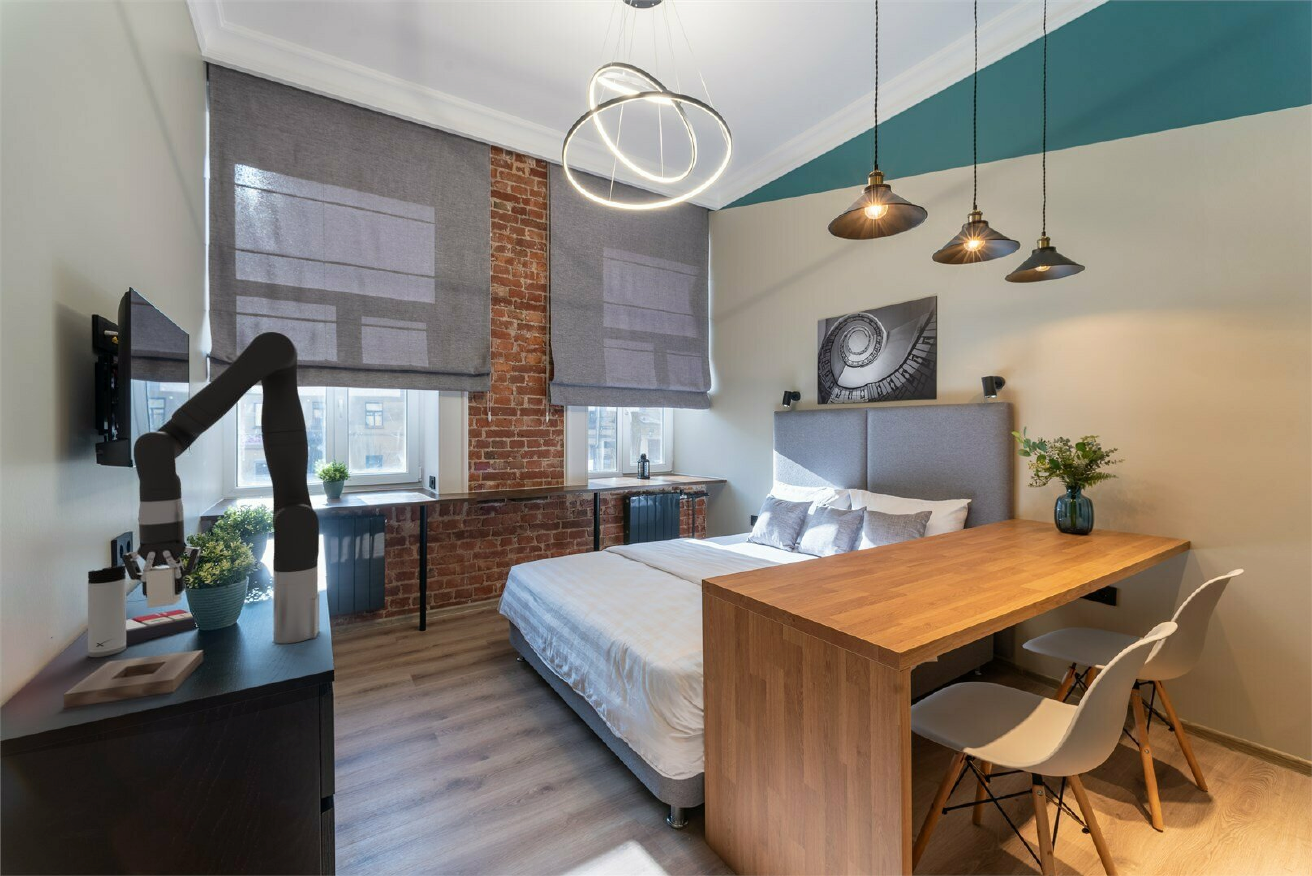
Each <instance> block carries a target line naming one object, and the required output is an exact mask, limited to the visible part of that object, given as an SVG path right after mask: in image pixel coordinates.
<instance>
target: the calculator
mask: <svg viewBox="0 0 1312 876" xmlns="http://www.w3.org/2000/svg"><path fill="white" fill-rule="evenodd" d="M191 613H192V612H188V611H186V610H184V609H183V610H182V609H176V610H175V609H174V610H170V611H164V612H163V611H162V612H158V613H154V614H148V615H147V614H146V615H143V616H141V615H140V616H137V617H132V619H130V618H129V619H126V647H127V646H131V645H134V644H138V643H143V642H147V641H149V640H151V639H154V638H160V637H161V638H162V637H165V636H169V635H175V634H177V633H182V632H185V631H190V630H194V629H197V628H196V624H195V621H194V618H193V616H192V614H191Z"/></svg>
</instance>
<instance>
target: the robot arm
mask: <svg viewBox="0 0 1312 876" xmlns="http://www.w3.org/2000/svg"><path fill="white" fill-rule="evenodd" d="M298 354H299V353H298V350H297V347H296V345H295V344H294V342H293V341H292V339H290V337H288V336H287V335H285V334H283V333H281V332H278V331H265V332H261V333H258V334H257V335H256V336H254V338H253V339H252V340H251V342H249V345H247V347H246V348H244V350H243V351H242V353H240V355H239V356H238V357H237V358H236V359H235V360H234V361H233V362H232V363H231V365H229V366H228V367H227V368H226V369H225V370H224V371H223V372H222V373H220V375H218V376H217V377H216V378H214V380H212V381H211V382H209V383H208V384H207V385H206V386H205V387H203V388H202V389H200V390H198V392H197V393H196V394H194V395H193V396H191V398H190V399H188V400H187V401H186V402H184V403H183V404H182V405H181V406H180V407H178V408H177V409H176V410H175V411H174V412H173V413H172V415H171V418H170V419H168V421H167V422H166V423H165V424H163V425H162V426H161V427H160V428H158V429H157V430H156V431H149V432H145V433H144V434H141V435H140V436H139V437H137V439H136V441H135V442H134V446H133V460H134V463H135V469H136V472H137V476H138V480H139V486H138V487H139V488H138V489H139V491H138V492H139V508H138V517H137V519H138V534H139V547H138V549H137V550H136V551H132V552H131V551H130V552H128V553H125V554H122V555H121V560H122V562H123V564H124V565H125V567H126V572H127V573H128V574H127V575H128V576H129V579H130V580H132V581H140V582H141V583H142V584H141V585H142V587H141V589H142V591H141V592H142V595H143V597H145V599H147V583H146V572H147V571H151V570H153V569H155V568H156V567H160V566H169V567H170V569H174V576H175V578H176V579H174V580H175V595H179V594H181V595H182V593H183V591H185V589H186V576H188V575H190V574H192V573H194V572H196V570H197V566H198V562H199V560H200V556H201V553H202V550H203V548H202V547H201V546H196V547H195V546H194V547H193V546H188V545H187V543H186V542H185V526H184V525H185V521H184V505H183V500H182V497H183V496H182V482H181V479H180V476H179V475H178V474H177V469H176V468H177V467H176V459H177V458H178V457H180V456H181V455H182V454H183V453H184V452H186V451H187V450H188V449H189V448H190V447H191V446H192V445H193V443H194V442H196V440H197V439H198V438H199V437H200V436H201V435H202V434H203V433H205V432H206V431H208V430H209V429H210V428H211V427H212V426H214V425H215V424H216V423H217V422H218V421H220V420H221V419H222V418H223V417H224V416H225V415H226V414H227V413H228V412H230V410H231V409H232V408H233V407H234V406H235V405H236V404H237V403H238V401H240V400H241V399H242V397H243V396H245V395H246V393H247V392H249V390H251V388H253V387H254V386H255V385H256V384H257V383H259V382H261V383H260V384H261V388H262V404H261V405H262V406H261V416H260V421H261V422H260V429H261V438H262V439H261V441H262V446H263V453H264V458H265V461H266V462H265V463H266V465H267V469H268V473H269V476H270V481H271V485H272V494H273V499H272V500H273V507H272V508H273V513H272V514H273V516H272V525H273V526H272V527H273V560H272V561H273V562H272V563H273V565H272V566H273V568H272V569H273V570H272V571H273V575H272V576H273V584H272V585H273V590H272V592H273V600H272V601H273V603H272V605H273V609H272V610H273V616H272V617H273V621H272V622H273V632H272V633H273V642H274V643H277V644H291V643H292V644H294V643H299V642H302V641H306V640H309V639H310V640H311V639H315V638H316V637H318V636H317V635H318V634H319V632H320V594H319V593H318V591H319V589H318V587H319V586H318V585H319V584H318V581H319V580H318V579H319V575H318V574H319V573H318V570H319V569H318V568H319V567H318V565H319V564H318V562H319V561H318V560H319V553H320V548H319V547H320V519H319V516H318V514H317V512H316V511H315V510H314V508H313V504H312V502H311V501H312V500H311V496H310V492H309V487H308V479H307V478H308V467H309V466H308V465H309V444H308V443H309V442H308V441H309V440H308V432H307V426H306V419H305V416H304V411H303V407H302V403H301V399H300V395H299V390H298ZM185 552H186V556H187V557H188V561H187V563H186V567H185V568H184V566H183V560H182V558H181V557H182V556H183V555H184V553H185ZM139 557H141V558H142V560H144V562H145V564H144V566H143V568H142V570H141V567H140V566H139V563H138V560H139Z"/></svg>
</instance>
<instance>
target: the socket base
mask: <svg viewBox="0 0 1312 876" xmlns="http://www.w3.org/2000/svg"><path fill="white" fill-rule="evenodd" d="M203 662H204V650H203V649H200V650H192V651H186V652H185V651H184V652H174V653H168V654H161V655H152V656H150V655H149V656H144V657H135V658H126V659H120V660H119V659H118V660H113V661H112V660H111V661H108V662H106V663H105V664H103V665H101V667H99V668H98V669H96V670H95V671H94V672H93V673H91V674H90V675H88V676H87V677H85V678H84V679H82V681H80V682H78V683H77V684H75V686H73V687H71V688H70V689H69V690H68V691H66V692H65V693H63V709H65V708H72V707H79V706H86V705H93V704H100V703H107V702H114V701H120V700H121V701H122V700H128V699H133V698H142V697H148V696H155V695H161V694H168V693H174V692H175V691H177V689H178V688H179V687H180V686H181V685H183V683H184V682H185V681H186V680H187V679H188V678H189V676H191V674H192V673H193V672H194V671H195V670H196V669H197V668H198V667H200V665H201V664H202V663H203Z"/></svg>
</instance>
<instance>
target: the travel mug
mask: <svg viewBox="0 0 1312 876" xmlns="http://www.w3.org/2000/svg"><path fill="white" fill-rule="evenodd" d="M126 572H127V569H126V567H125V565H116V566H115V565H114V566H109V567H104V568H102V569H98V570H89V571H88V572H87V578H88V579H87V648H88V649H87V655H88V657H89V658H102V657H107V656H112V655H113V656H114V655H116V654H119V653H121V652H123V651H125V650H126V649H127V646H126V620H127V577H126Z"/></svg>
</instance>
